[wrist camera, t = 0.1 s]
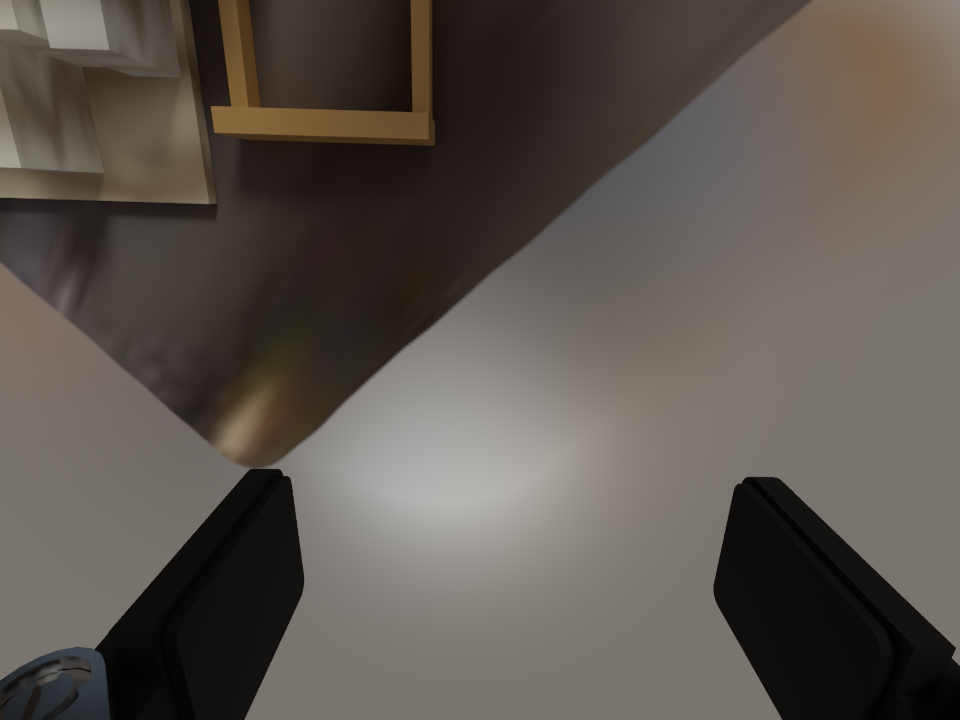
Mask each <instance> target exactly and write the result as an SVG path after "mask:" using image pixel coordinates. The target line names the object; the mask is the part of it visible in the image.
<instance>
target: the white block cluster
mask: <svg viewBox="0 0 960 720" xmlns="http://www.w3.org/2000/svg"><path fill="white" fill-rule="evenodd" d="M0 197H1V198H33V199H65V200H97V201H128V202H160V203H192V204H218V203H217V196H216V189H215V182H214V175H213V167H212V160H211V153H210V146H209V139H208V132H207V125H206V118H205V111H204V104H203V97H202V90H201V83H200V76H199V69H198V62H197V54H196V47H195V40H194V33H193V26H192V19H191V12H190V5H189V0H0Z"/></svg>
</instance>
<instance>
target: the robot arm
mask: <svg viewBox="0 0 960 720" xmlns="http://www.w3.org/2000/svg"><path fill="white" fill-rule="evenodd" d="M301 558H302V557H301V550H300V543H299V536H298V528H297V520H296V514H295V505H294V498H293V490H292V484H291V479H290V477H288V476H283V473H282V472H281V470H279V469H250V470H249V471H248V472H247V473H246V474H245V475H244V477H243V478H242V479H241V480H240V481H239V482H238V483H237V484H236V486H235V487H234V488H233V489H232V490H231V492H230V493H229V494H228V495H227V496H226V497H225V498H224V500H223V501H222V502H221V503H220V504H219V505H218V506H217V508H216V509H215V510H214V511H213V512H212V513H211V514H210V516H209V517H208V518H207V519H206V520H205V522H204V523H203V524H202V525H201V526H200V527H199V528H198V529H197V531H196V532H195V533H194V534H193V535H192V536H191V538H190V539H189V540H188V541H187V542H186V543H185V544H184V546H183V547H182V548H181V549H180V550H179V552H177V554H176V555H175V556H174V557H173V558H172V560H171V561H170V562H169V563H168V564H167V565H166V566H165V568H164V569H163V570H162V571H161V572H160V573H159V575H158V576H157V577H156V578H155V579H154V580H153V581H152V582H151V584H150V585H149V586H148V587H147V588H146V589H145V591H144V592H143V593H142V594H141V595H140V596H139V598H138V599H137V600H136V601H135V602H134V603H133V604H132V606H131V607H130V608H129V609H128V610H127V611H126V612H125V614H124V615H123V616H122V617H121V618H120V619H119V621H118V622H117V623H116V624H115V625H114V626H113V627H112V629H111V630H110V631H109V633H108V634H107V635H106V637H105V638H104V639H103V640H102V641H101V643H100V644H99V645H98V646H97V647H96V648H95V649H94V650H93V649H91V648H84V647H74V648H68V649H61V650H58V651H55V652H52V653H49V654H46V655H44V656H41V657H38V658H37V659H35V660H33V661H31V662H29V663H27V664H25V665H23V666H21V667H19V668H18V669H16V670H15V671H13V672H12V673H11V674H9V675H7V676H6V677H5V678H3V679H2V680H0V720H244V719H245V717H246V715H247V713H248V711H249V708H250V706H251V704H252V702H253V700H254V698H255V696H256V693H257V691H258V688H259V687H260V685H261V683H262V680H263V678H264V676H265V674H266V672H267V669H268V667H269V665H270V663H271V661H272V659H273V657H274V654H275V652H276V650H277V648H278V646H279V644H280V641H281V639H282V637H283V635H284V633H285V631H286V628H287V626H288V624H289V622H290V620H291V618H292V615H293V613H294V611H295V609H296V607H297V604H298V603H299V600H300V598H301V595H302V592H303V587H304V572H303V565H302V559H301ZM714 597H715V600H716V603H717V605H718V607H719V609H720V610H721V612H722V614H723V616H724V617H725V619H726V621H727V623H728V625H729V626H730V628H731V630H732V632H733V633H734V635H735V637H736V638H737V640H738V642H739V644H740V646H741V647H742V649H743V651H744V653H745V654H746V656H747V658H748V660H749V661H750V663H751V665H752V667H753V669H754V670H755V672H756V674H757V676H758V677H759V679H760V681H761V683H762V684H763V686H764V688H765V690H766V692H767V693H768V695H769V697H770V699H771V700H772V702H773V704H774V706H775V707H776V709H777V711H778V713H779V714H780V716H781V718H782V720H960V666H959V665H958V664H957V663H956V662H955V661H954V660H953V659H952V656H953V654H954V651H955V649H956V648H955V647H954V646H953V645H952V644H951V643H950V642H949V641H948V640H947V639H946V638H945V637H944V636H943V635H942V634H941V633H940V632H939V631H938V630H936V628H935V627H934V626H932V625H931V624H930V623H929V622H928V621H927V620H926V619H925V618H924V617H923V616H922V615H921V614H920V613H919V612H918V611H917V610H916V609H915V608H914V607H913V606H912V605H911V604H910V603H909V602H907V601H906V600H905V599H904V598H903V597H902V596H901V595H900V594H899V593H898V592H897V591H896V590H895V589H894V588H893V587H892V586H891V585H890V584H889V583H888V582H887V581H886V580H885V579H883V578H882V577H881V576H880V575H879V574H878V573H877V572H876V571H875V570H874V569H873V568H872V567H871V566H870V565H869V564H868V563H867V562H866V561H865V560H864V559H862V557H861V556H860V555H859V554H857V553H856V552H855V551H854V550H853V549H852V548H851V547H850V546H849V545H848V544H847V543H846V542H845V541H844V540H843V539H842V538H841V537H840V536H839V535H838V534H836V532H835V531H833V530H832V529H831V528H830V527H829V526H828V525H827V524H826V523H825V522H824V521H823V520H822V519H821V518H820V517H819V516H818V515H817V514H816V513H815V512H814V511H813V510H812V509H811V508H809V507H808V506H807V505H806V504H805V503H804V502H803V501H802V500H801V499H800V498H799V497H798V496H797V495H796V494H795V493H794V492H793V491H792V490H791V489H790V488H789V487H788V486H787V485H785V483H783V482H782V481H781V480H780V479H778V478H775V477H747V478H745V479H744V480H743V482H742V484H737V485H736V487H735V489H734V492H733V497H732V502H731V506H730V511H729V516H728V521H727V525H726V530H725V534H724V539H723V544H722V548H721V553H720V558H719V562H718V567H717V572H716V577H715V581H714Z"/></svg>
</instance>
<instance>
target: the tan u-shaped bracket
mask: <svg viewBox="0 0 960 720" xmlns="http://www.w3.org/2000/svg"><path fill="white" fill-rule="evenodd" d="M218 4H219V12H220V20H221V28H222V36H223V44H224V52H225V60H226V68H227V76H228V84H229V92H230V100H231V107H226V106H211V111H212V119H213V126H214V133H218V134H222V135H227V136H231V137H235V138H240V139H244V140H266V141H298V142H330V143H362V144H394V145H426V146H435V122H434V120H433V119H432V0H411V46H412V112H386V111H354V110H322V109H290V108H260V98H259V89H258V80H257V70H256V61H255V52H254V43H253V33H252V24H251V15H250V5H249V0H218Z"/></svg>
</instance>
